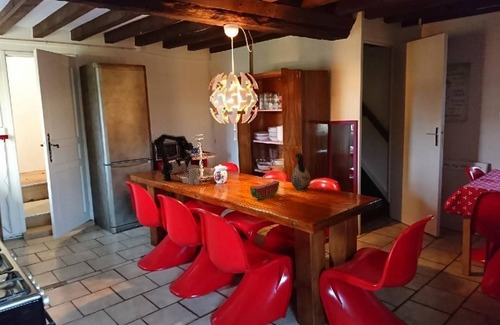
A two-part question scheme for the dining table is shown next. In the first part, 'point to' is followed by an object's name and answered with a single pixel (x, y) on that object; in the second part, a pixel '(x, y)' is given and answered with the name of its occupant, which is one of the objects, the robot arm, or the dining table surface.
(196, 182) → the white rectangular bar
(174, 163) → the stack of blocks
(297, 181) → the ceramic jug
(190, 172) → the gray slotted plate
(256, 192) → the fruit slice
